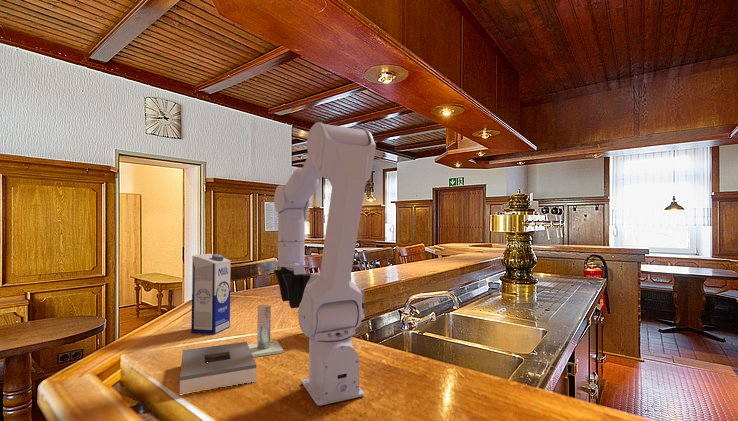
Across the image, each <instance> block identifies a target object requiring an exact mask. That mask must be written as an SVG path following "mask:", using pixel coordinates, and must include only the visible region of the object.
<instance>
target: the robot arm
mask: <svg viewBox="0 0 738 421" xmlns="http://www.w3.org/2000/svg"><path fill="white" fill-rule="evenodd" d="M306 139H307V140H306V148H307V154H308V155H307V158H306V159H305V161H304V163H303V166H302V167H298V168H296V169H295V170H294V171H293V172H292V174H291V175H290V177H289V179H288V180H287V182H286V184H283V185H278V186H277V187H276V188H275V191H274V196H273V197H274V198H273V199H274V200H273V202H274V203H273V204H274V209H275V211H276V213H277V214H278V215H277V261H272V262H271V263H272V264H271V265H272V266H273V267H279V268H280V269H273V273H274V275H275V276H276V279H277V283H278V287H279V291H280V297H281V301H282V302H288V304H289V308H290V309H298V312H297V313H298V314H297V316H298V317H297V318H298V320H297V321H298V324H299V328H300V330H301V332H302V334H304V336H306V337H308V354H309V355H308V378H305V379H302V380H301V384H302V385H303V387H304V388H305V390H306V391H307V393H308V394H309V396H310V397H311V398H312V400H313V402H314V403H315V405H316V406H318V407H320V406H324V405H328V404H334V403H340V402H343V401H348V400H351V399H356V398H360V397H364V396H365V391H364V390H363V389H362V388H361V387H360V357H359V353H358V351H357V350H356V349H355V348H354V345H353V342H352V336H353V335H355V334H356V329H358V328H359V326H360V325H361V322H362V321H363V320H362V293H361V291H360V289H361V288H359V287H358V286H357V285H356V284H355V283H354V282H353V281H352V280H351V281H350V277H351V278H352V270H353V264H354V259H355V258H354V257H355V252H356V246H357V239H358V234H359V227H360V220H361V215H362V208H363V202H364V198H365V197H364V195H365V192H366V190H365V189H366V184H367V182H369V180H370V179H371V176H372V171H373V167H374V166H373V165H374V160H375V155H376V154H375V153H376V147H377V145H376V142H375V140H374V137H373V135H372V133H371V132H370V131H369V130H368V129H364V128H361V129H359V128H353V127H348V126H347V127H346V126H340V125H334V124H327V123H323V122H320V121H318V122H315V123H314V124H313V125H312V126H311V128H310V129H309V131H308V136H307V138H306ZM321 177H322V178H324V179H326V180H327V181H329V182H330V185H331V193H330V200H329V208H328V213H327V221H326V227H325V235H324V241H323V250H322V256H321V263H320V269H319V270H320V271H319V273H320V276H319V277H318V278H317V279H316V280H314V281H313V282H312V283H310V284H309V285H308V281H309V279H310V277H311V275H310V274H311V273H306V272H305V271H306V270H305V266H306V259H305V257H306V256H305V248H306V247H305V246H306V245H305V242H306V241H305V240H306V239H305V236H306V235H305V233H306V232H305V230H306V229H305V228H306V226H305V224H306V222H305V221H307V218H308V210H309V207H310V199H311V198H312V196H313V195H314V194H315V192H316V191H317V190H318V188H319V186H320V179H319V178H321Z"/></svg>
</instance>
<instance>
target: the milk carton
mask: <svg viewBox="0 0 738 421" xmlns="http://www.w3.org/2000/svg"><path fill="white" fill-rule="evenodd" d="M191 258H192V264H191V267H192V268H191V324H190V325H191V329H190V332H191V334H197V335H198V334H199V335H200V334H201V335H216V334H219V333H220V332H223V331H225V330H227V329H229V328H230V327H231V262H232V260H230V259H228V258H225V256H224V255H223V254H219V253H213V254H212V253H203V254H193V255H192V257H191Z"/></svg>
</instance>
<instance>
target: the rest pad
mask: <svg viewBox="0 0 738 421" xmlns="http://www.w3.org/2000/svg"><path fill="white" fill-rule="evenodd" d="M248 346H249V349H250V351H251V353H252V356H253V358H259V357H266V356H270V355H276V354H284V349H283V347H282V345H281V344H280V343H279V341H278V340H272V341H271V340H270V348H268V349H264V350H260V349H257V342H256V343H251V344H248Z"/></svg>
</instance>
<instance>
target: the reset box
mask: <svg viewBox="0 0 738 421" xmlns="http://www.w3.org/2000/svg"><path fill="white" fill-rule="evenodd" d="M248 345H249V344H248V342H247V341H240V342H233V343H227V344H220V345H219V344H218V345H210V346H206V347H204V346H203V347H195V348H188V349H182V355H181V364H180V372H179V374H180V375H179V395H180V394H183V393H187V392H193V391H198V390H204V389H209V388H216V387H217V388H218V387H225V386H231V387H233V386H232V385H236V386H239V385H238V384H242V385H245V384H244V383H247V384H252V383H257V363H256V360H255V357H253V356H252V353H251V351H250V349H249V346H248ZM207 362H208V363H207ZM251 382H252V383H251ZM225 388H226V387H225Z"/></svg>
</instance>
